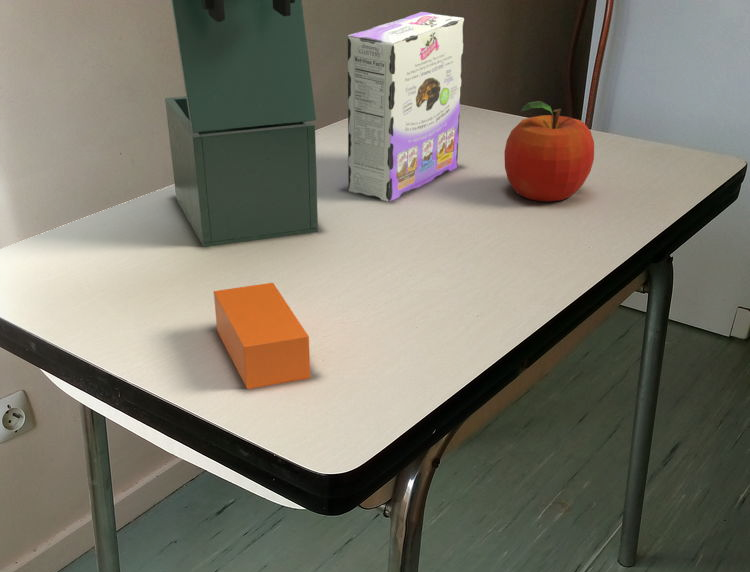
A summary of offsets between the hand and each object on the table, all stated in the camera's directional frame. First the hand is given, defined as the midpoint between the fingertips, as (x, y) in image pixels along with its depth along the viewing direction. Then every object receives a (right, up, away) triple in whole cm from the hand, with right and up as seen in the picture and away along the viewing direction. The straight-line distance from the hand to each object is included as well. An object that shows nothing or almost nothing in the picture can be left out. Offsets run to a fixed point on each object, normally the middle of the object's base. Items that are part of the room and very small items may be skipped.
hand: (249, 13), depth 86 cm
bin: (-3, -13, +18) cm, 22 cm away
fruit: (+29, -9, +24) cm, 39 cm away
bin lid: (-1, -1, +4) cm, 5 cm away
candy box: (+14, -6, +27) cm, 31 cm away
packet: (+2, -30, -6) cm, 31 cm away
